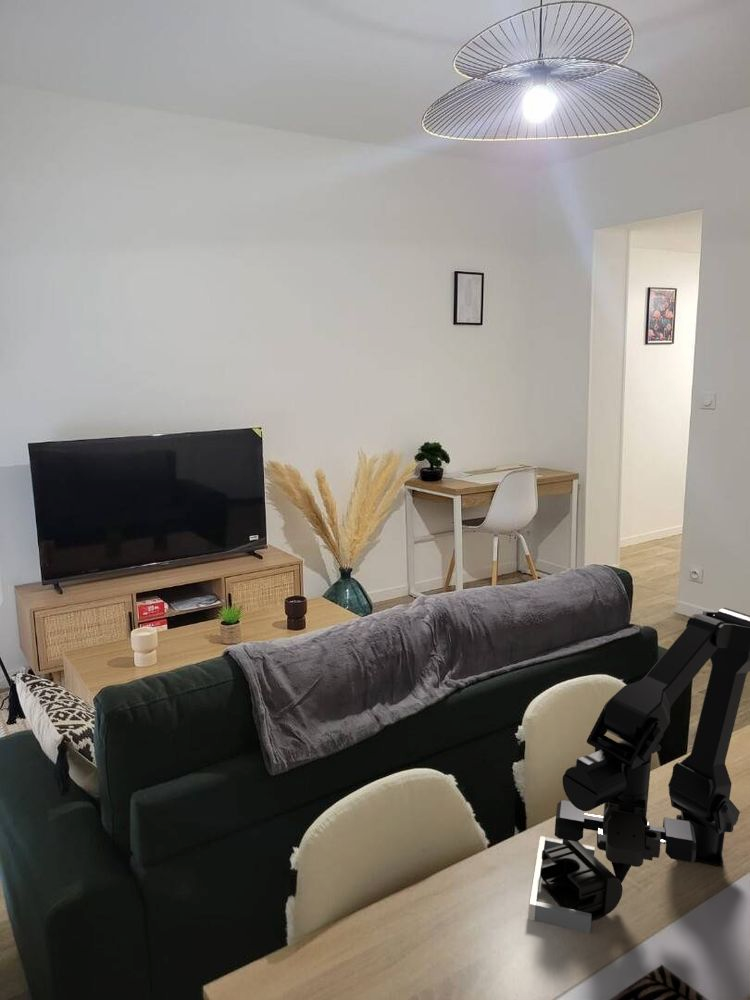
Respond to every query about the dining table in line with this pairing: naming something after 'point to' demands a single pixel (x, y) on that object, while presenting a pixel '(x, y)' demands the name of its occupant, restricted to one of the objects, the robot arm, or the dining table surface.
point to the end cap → (580, 880)
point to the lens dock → (552, 912)
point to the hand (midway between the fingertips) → (619, 881)
